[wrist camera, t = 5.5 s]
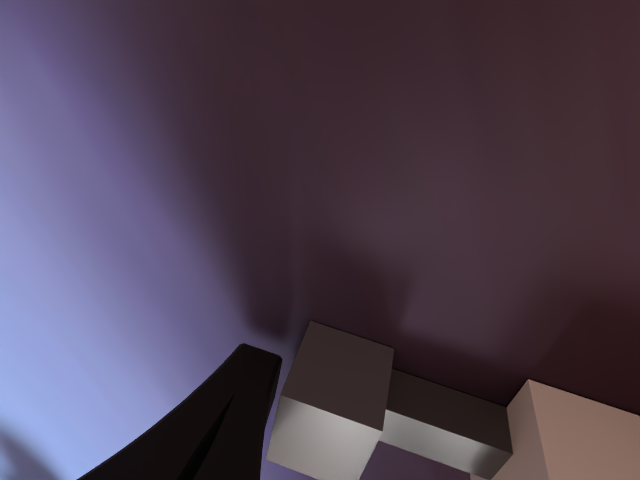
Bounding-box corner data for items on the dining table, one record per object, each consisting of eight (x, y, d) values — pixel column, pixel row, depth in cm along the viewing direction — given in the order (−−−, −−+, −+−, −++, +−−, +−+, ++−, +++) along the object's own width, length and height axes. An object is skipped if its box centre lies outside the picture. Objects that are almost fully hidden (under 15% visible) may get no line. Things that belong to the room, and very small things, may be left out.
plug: (292, 393, 14) (258, 482, 11) (313, 308, 11) (276, 396, 9) (598, 502, 13) (635, 628, 10) (686, 431, 10) (762, 570, 8)
